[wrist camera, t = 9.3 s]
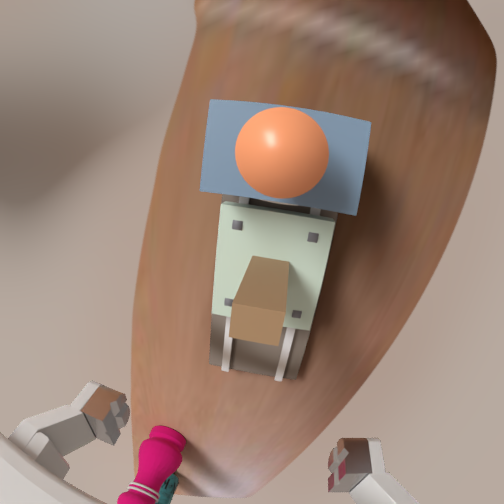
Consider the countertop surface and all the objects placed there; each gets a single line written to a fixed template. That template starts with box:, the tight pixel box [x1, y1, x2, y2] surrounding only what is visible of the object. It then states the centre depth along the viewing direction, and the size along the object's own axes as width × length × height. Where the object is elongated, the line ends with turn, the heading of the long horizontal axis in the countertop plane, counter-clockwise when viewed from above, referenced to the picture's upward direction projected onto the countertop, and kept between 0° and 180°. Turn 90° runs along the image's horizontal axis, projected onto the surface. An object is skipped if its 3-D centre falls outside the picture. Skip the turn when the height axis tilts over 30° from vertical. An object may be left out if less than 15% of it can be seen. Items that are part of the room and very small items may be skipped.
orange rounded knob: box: [235, 107, 329, 199], centre depth 15 cm, size 4×4×5 cm
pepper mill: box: [117, 426, 186, 504], centre depth 31 cm, size 7×7×20 cm
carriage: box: [212, 201, 335, 346], centre depth 21 cm, size 10×9×10 cm
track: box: [209, 194, 338, 381], centre depth 27 cm, size 20×10×2 cm, turn 173°
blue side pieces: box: [200, 99, 371, 216], centre depth 20 cm, size 6×10×8 cm, turn 83°
